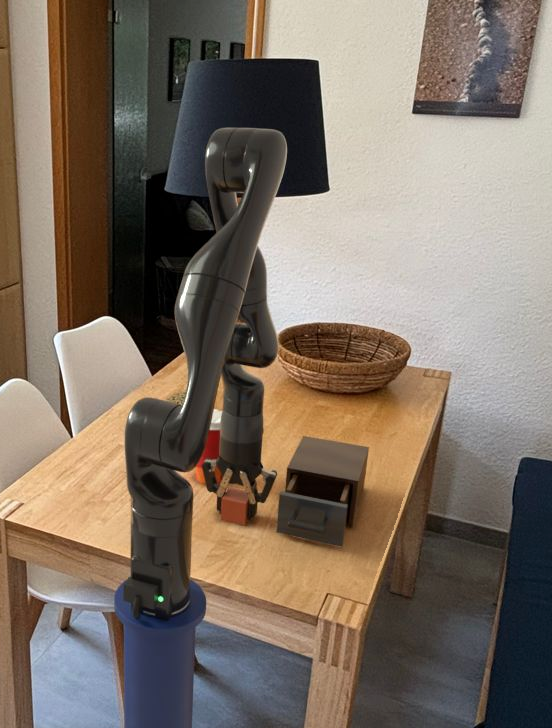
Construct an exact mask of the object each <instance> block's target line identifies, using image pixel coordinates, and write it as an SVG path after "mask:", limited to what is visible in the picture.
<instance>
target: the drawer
mask: <svg viewBox="0 0 552 728" xmlns="http://www.w3.org/2000/svg"><path fill="white" fill-rule="evenodd" d="M352 486H353V484H350V483H345V482H340V481H334V480H329V479H324V478H318V477H313V476H308V475H303V474H297V473H294V475H293V477H292V479H291V481H290V483H289V485H288V487H287V489H286V492H285V491H282V490H280V492H279V495H278V505H277V507H278V508H277V516H276V517H277V518H276V520H277V521H276V531H275V533H277V534H280V535H285V536H290V537H295V538H298V539H304V540H309V541H313V542H317V543H322V544H326V545H331V546H336V547H340V548H343V545H344V540H345V533H346V532H345V531H346V526H345V524H346V518H347V515H348V512H349V509H350V503H351V495H352Z"/></svg>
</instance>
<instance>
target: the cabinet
mask: <svg viewBox="0 0 552 728" xmlns="http://www.w3.org/2000/svg"><path fill="white" fill-rule="evenodd" d="M369 450H370V447H369V446H365V445H359V444H354V443H348V442H342V441H335V440H329V439H324V438H318V437H312V436H307V435H302V437H301V439H300V441H299V443H298V444H297V447H296V449H295V451H294V453H293V455H292V457H291V459H290V460H289V463H288V464H287V466H286V475H285V488H284V492H286V489H287V487H288V485H289V483H290V481H291V479H292V477H293V475H294V473H297V474H303V475H308V476H313V477H318V478H324V479H329V480H334V481H340V482H345V483H350V484H353V486H352V495H351V503H350V509H349V512H348V515H347V518H346V524H345V527H348V528H354V525H355V524H354V523H355V521H356V517H357V514H358V510H359V507H360V504H361V501H362V496H363V493H364V489H365V483H366V475H367V467H368V466H367V465H368V458H369Z"/></svg>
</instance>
